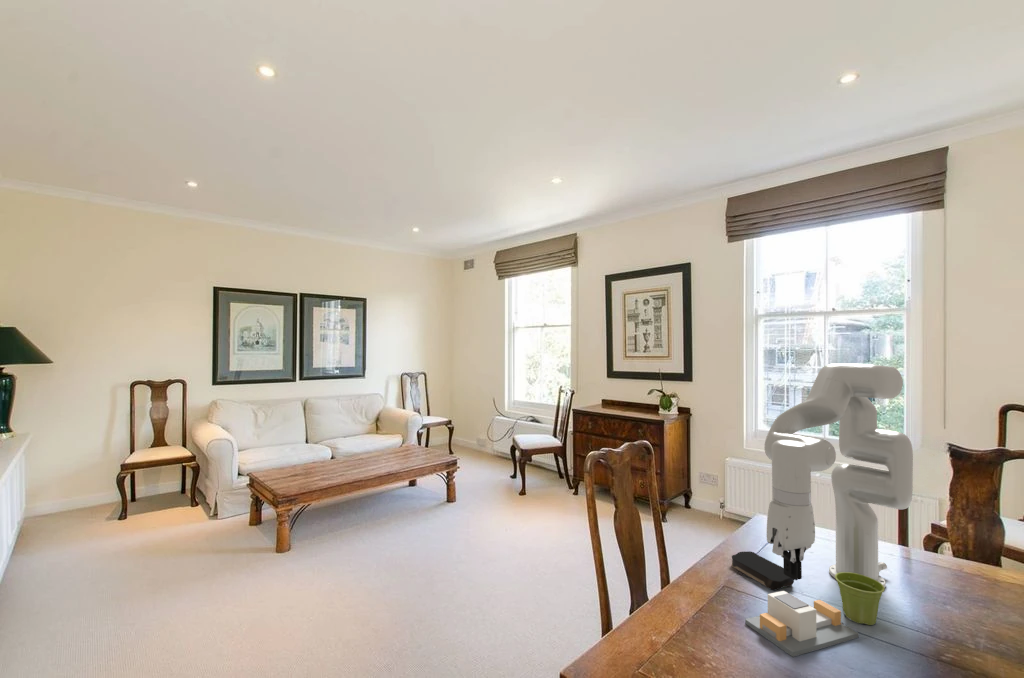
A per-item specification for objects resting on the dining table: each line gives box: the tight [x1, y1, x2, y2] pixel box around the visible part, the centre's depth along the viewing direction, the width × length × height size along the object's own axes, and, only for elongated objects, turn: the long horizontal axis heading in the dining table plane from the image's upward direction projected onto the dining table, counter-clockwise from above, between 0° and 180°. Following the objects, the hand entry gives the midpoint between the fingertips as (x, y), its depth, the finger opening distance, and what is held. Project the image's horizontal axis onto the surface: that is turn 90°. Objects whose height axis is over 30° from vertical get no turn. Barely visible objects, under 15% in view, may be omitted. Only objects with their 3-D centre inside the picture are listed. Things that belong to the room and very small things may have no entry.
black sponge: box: [731, 551, 795, 591], centre depth 128 cm, size 16×8×4 cm, turn 19°
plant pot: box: [834, 572, 886, 626], centre depth 108 cm, size 9×9×9 cm
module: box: [767, 590, 816, 642], centre depth 102 cm, size 5×8×6 cm, turn 19°
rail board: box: [744, 599, 860, 658], centre depth 103 cm, size 20×12×4 cm, turn 110°
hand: (792, 576), depth 102 cm, fingers closed
